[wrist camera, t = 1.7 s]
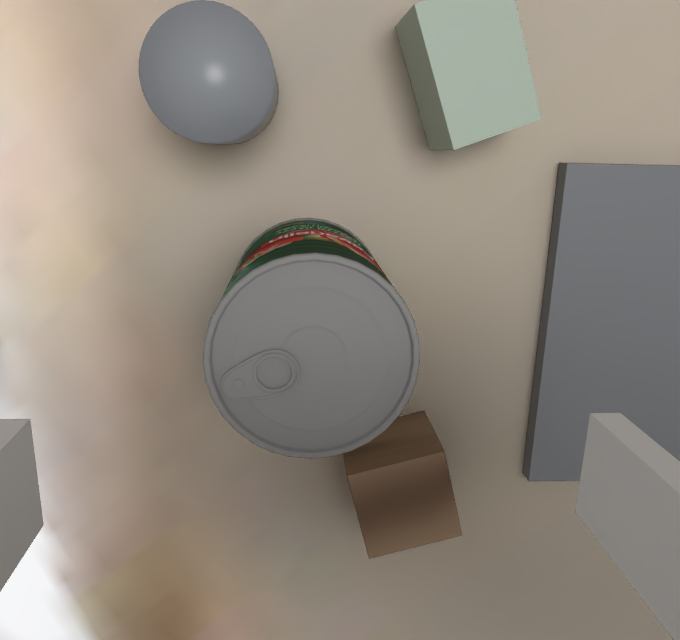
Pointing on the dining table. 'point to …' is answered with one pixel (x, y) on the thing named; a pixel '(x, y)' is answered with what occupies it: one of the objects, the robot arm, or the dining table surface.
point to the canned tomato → (310, 343)
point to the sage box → (467, 70)
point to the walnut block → (402, 488)
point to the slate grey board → (607, 313)
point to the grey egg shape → (208, 73)
